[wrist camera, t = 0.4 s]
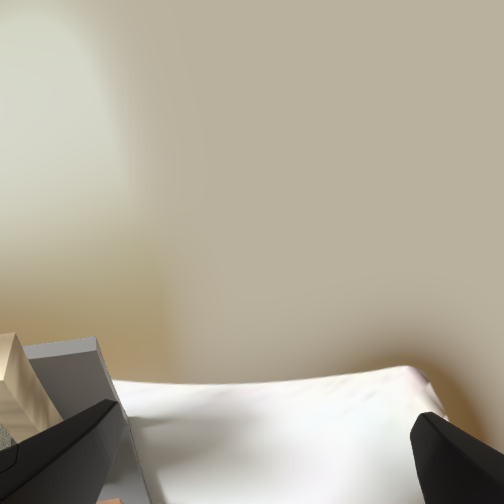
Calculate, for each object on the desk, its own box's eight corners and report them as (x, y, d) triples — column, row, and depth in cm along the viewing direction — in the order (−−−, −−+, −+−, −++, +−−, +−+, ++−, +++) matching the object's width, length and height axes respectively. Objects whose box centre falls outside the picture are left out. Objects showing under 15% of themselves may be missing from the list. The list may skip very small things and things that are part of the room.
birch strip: (84, 481, 15) (3, 380, 10) (57, 482, 14) (-31, 381, 9) (78, 441, 18) (15, 332, 13) (53, 443, 17) (-16, 335, 12)
